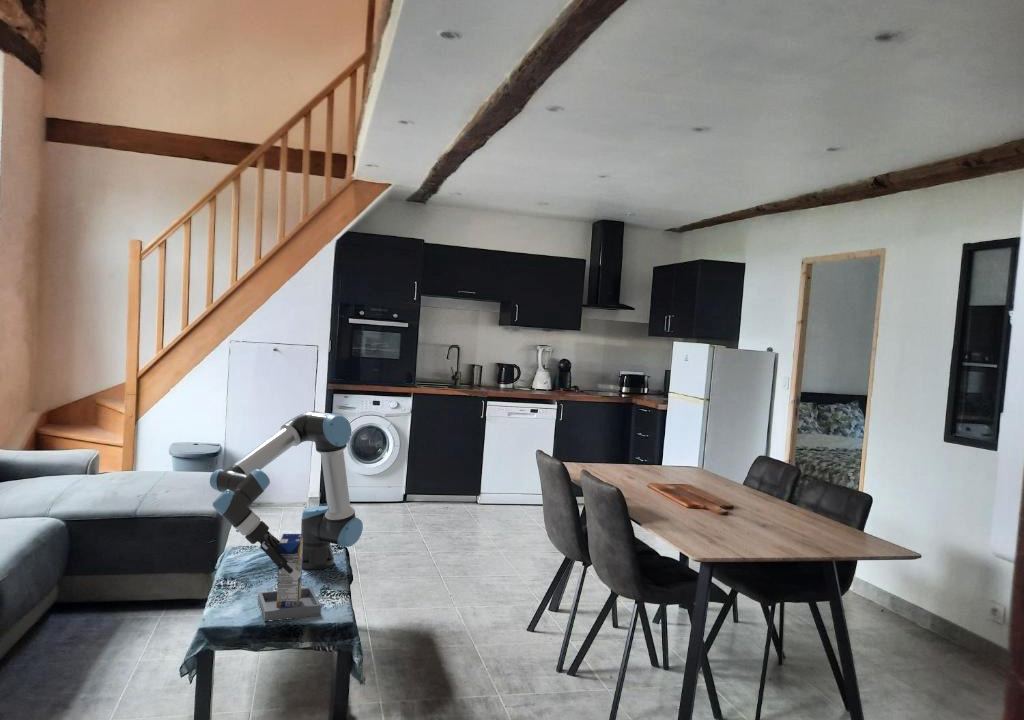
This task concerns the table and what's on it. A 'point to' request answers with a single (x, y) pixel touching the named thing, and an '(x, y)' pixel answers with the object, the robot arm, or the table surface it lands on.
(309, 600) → the tray
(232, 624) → the table surface
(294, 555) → the beverage box
